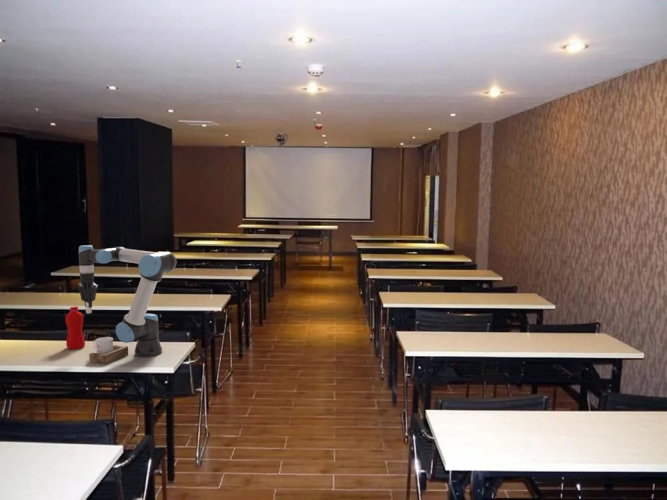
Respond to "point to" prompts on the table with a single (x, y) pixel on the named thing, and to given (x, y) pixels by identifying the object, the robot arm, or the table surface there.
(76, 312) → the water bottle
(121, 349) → the dock
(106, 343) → the mug
